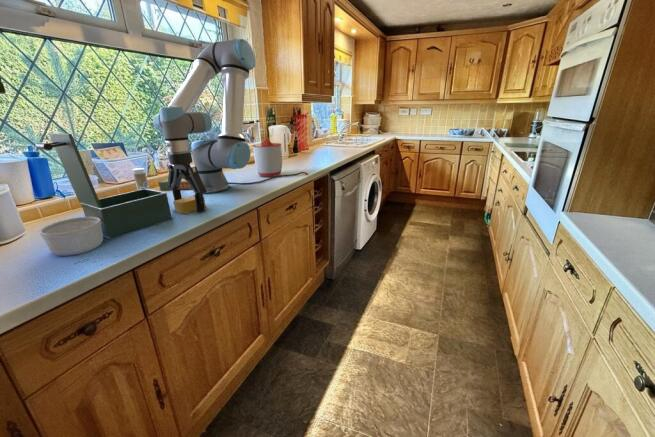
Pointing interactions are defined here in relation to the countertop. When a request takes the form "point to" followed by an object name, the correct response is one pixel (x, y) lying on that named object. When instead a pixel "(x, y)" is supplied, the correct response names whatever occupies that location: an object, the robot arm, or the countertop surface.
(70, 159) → the bin lid
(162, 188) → the carton
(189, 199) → the block
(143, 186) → the sprinkles bottle
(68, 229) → the ramekin
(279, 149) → the citrus juicer
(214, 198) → the countertop surface
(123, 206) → the green lidded box
